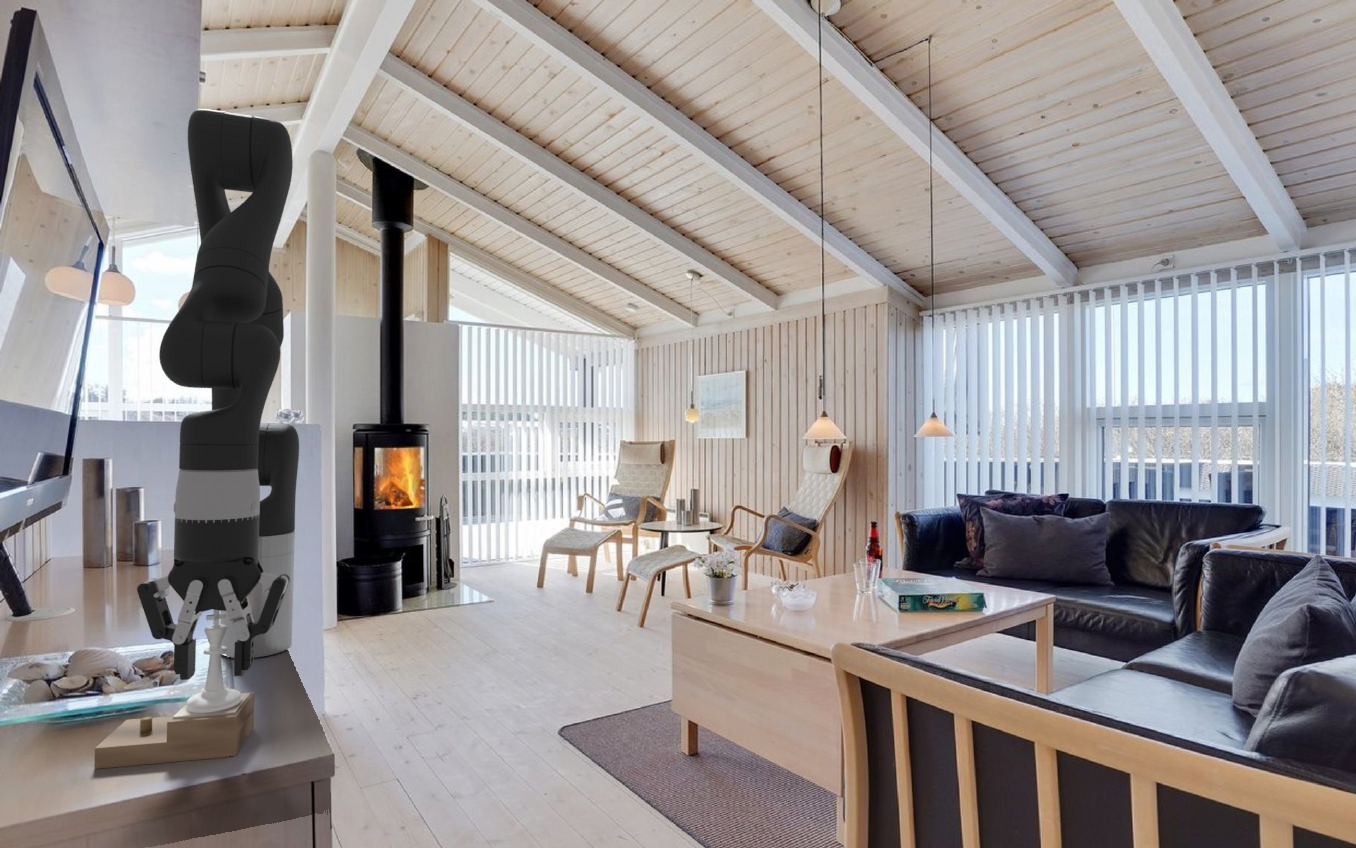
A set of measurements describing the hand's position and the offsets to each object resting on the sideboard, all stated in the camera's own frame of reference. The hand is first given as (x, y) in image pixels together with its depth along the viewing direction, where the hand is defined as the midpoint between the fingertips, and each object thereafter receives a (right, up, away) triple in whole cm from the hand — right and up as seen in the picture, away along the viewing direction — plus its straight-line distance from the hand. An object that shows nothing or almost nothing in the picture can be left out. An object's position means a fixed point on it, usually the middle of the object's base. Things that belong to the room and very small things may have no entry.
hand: (214, 675), depth 77 cm
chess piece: (0, -3, 0) cm, 3 cm away
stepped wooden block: (-3, -7, -1) cm, 8 cm away
